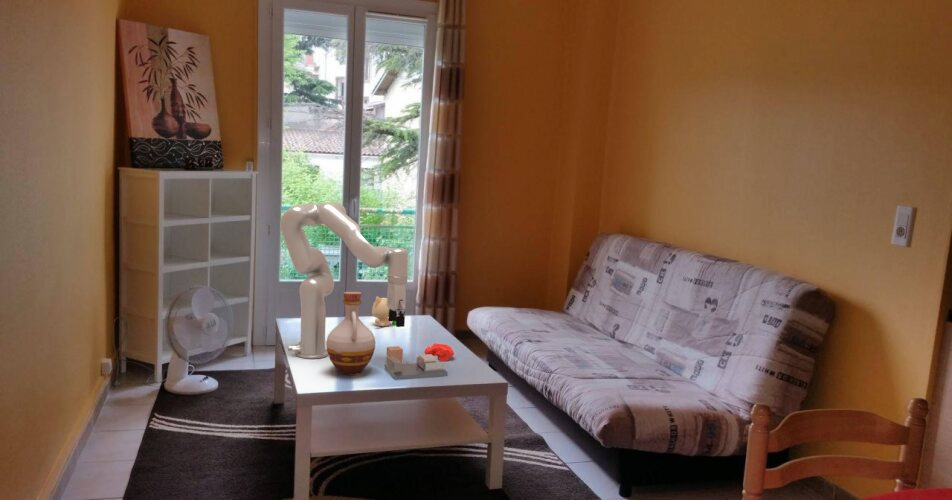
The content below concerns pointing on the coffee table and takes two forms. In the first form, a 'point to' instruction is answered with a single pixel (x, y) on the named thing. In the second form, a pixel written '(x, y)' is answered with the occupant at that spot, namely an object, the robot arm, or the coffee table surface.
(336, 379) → the coffee table surface
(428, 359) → the light grey sliding block
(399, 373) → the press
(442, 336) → the coffee table surface
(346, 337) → the jug
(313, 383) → the coffee table surface
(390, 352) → the block
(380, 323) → the kitten
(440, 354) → the animal figurine
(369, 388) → the coffee table surface
